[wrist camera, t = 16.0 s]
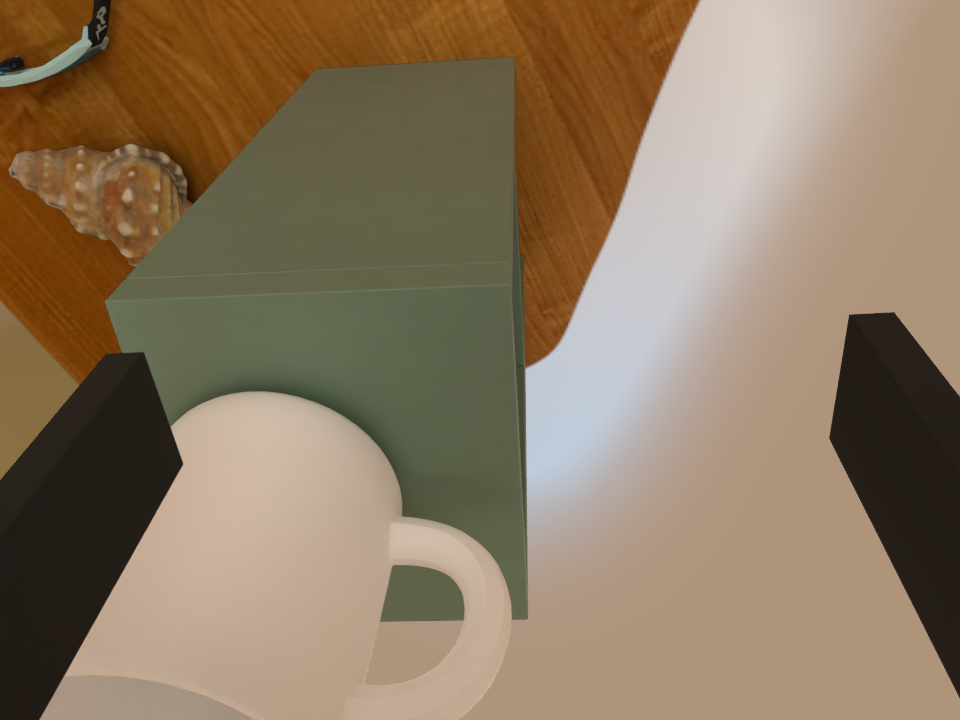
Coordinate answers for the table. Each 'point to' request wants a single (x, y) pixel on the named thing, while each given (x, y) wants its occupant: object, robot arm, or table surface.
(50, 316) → the table surface
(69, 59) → the sunglasses
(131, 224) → the seashell
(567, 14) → the table surface
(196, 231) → the shelf
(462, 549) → the mug
